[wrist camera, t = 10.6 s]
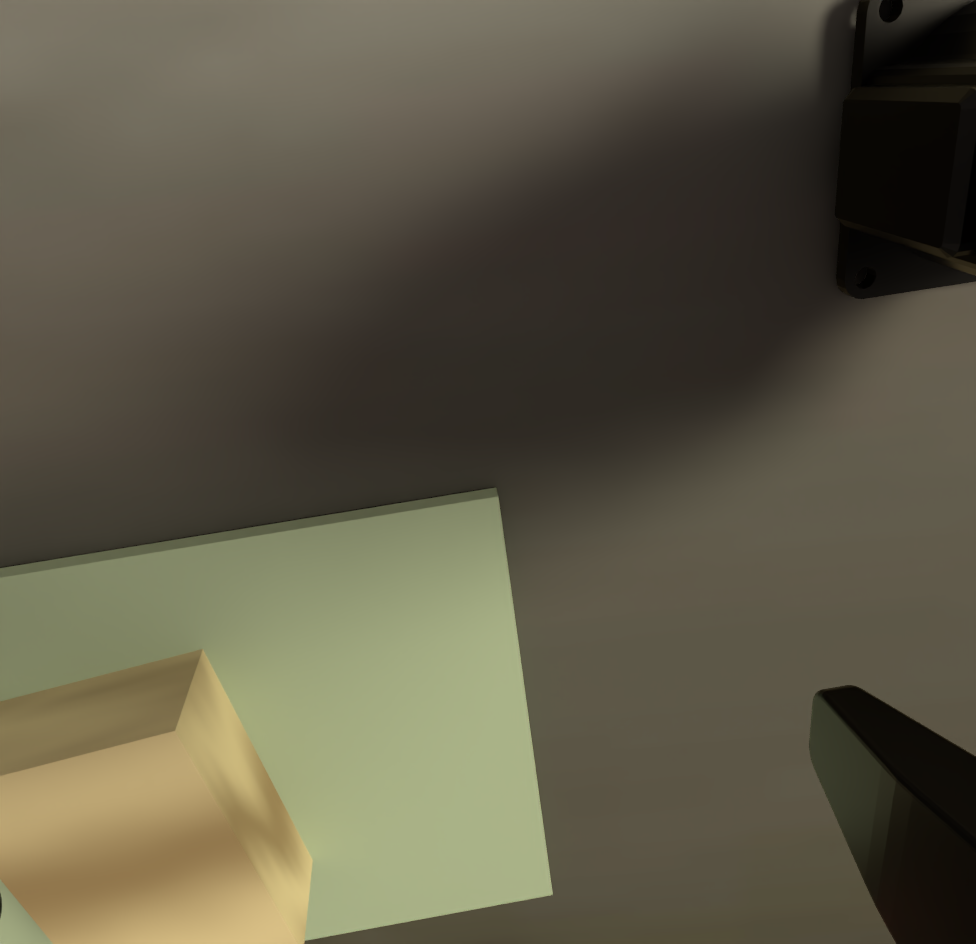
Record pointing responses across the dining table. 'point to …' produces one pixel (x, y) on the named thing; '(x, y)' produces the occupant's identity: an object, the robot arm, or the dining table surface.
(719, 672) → the dining table surface
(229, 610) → the rubber mat
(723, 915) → the dining table surface
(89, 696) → the brass block
